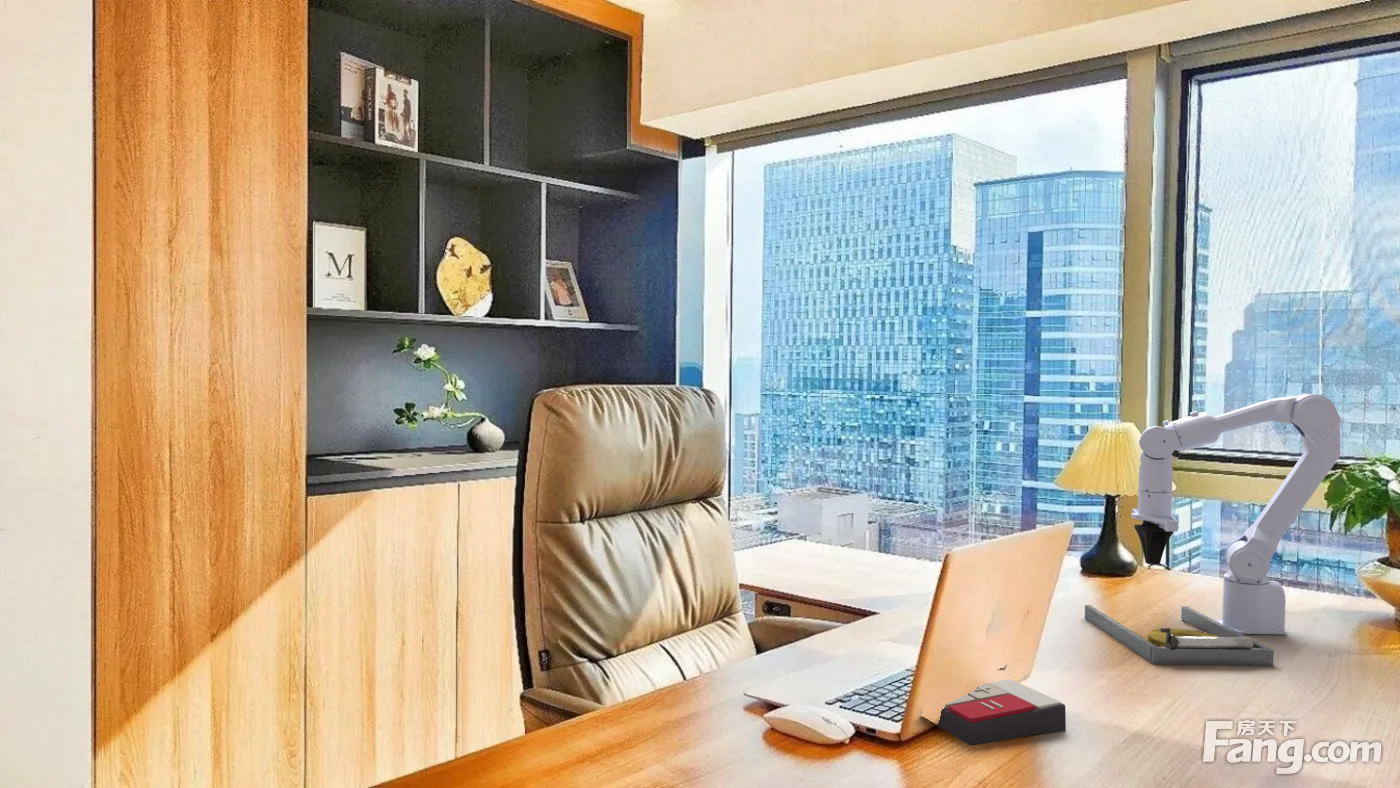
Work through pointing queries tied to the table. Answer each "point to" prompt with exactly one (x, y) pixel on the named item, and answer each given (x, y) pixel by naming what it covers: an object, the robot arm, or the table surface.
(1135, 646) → the bay
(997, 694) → the calculator
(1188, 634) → the gold round shallow dish
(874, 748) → the table surface
